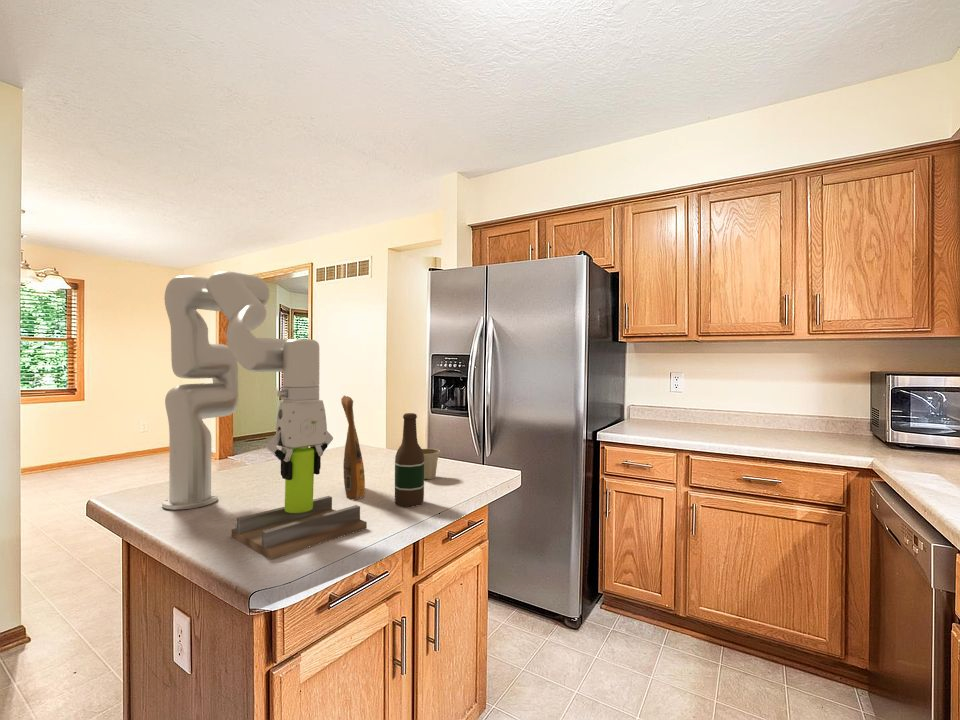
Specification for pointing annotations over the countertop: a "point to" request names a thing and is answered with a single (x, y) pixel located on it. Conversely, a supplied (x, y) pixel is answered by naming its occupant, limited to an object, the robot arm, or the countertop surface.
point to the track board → (296, 528)
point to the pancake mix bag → (352, 456)
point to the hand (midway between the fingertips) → (301, 475)
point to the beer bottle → (409, 466)
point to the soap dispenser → (300, 481)
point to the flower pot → (430, 462)
